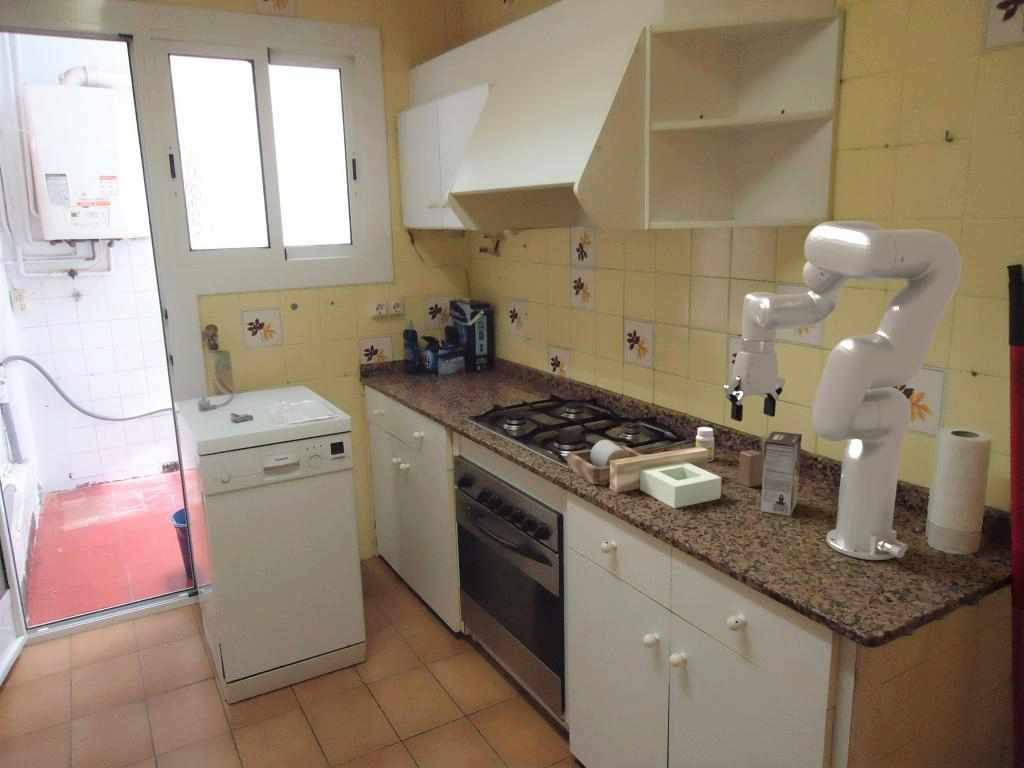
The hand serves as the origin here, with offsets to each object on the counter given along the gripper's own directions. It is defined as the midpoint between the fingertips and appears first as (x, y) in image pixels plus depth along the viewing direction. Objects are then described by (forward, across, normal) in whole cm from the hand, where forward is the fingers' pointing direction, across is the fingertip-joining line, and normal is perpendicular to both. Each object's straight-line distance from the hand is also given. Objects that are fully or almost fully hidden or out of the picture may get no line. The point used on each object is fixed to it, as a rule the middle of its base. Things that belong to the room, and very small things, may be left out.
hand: (752, 417), depth 168 cm
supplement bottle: (+17, -2, -19) cm, 26 cm away
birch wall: (+17, +19, -9) cm, 27 cm away
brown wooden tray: (+17, +26, -21) cm, 38 cm away
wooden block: (+17, 0, +1) cm, 17 cm away
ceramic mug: (+17, +25, -21) cm, 37 cm away
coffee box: (+16, +4, +15) cm, 22 cm away
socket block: (+16, +19, -1) cm, 25 cm away
